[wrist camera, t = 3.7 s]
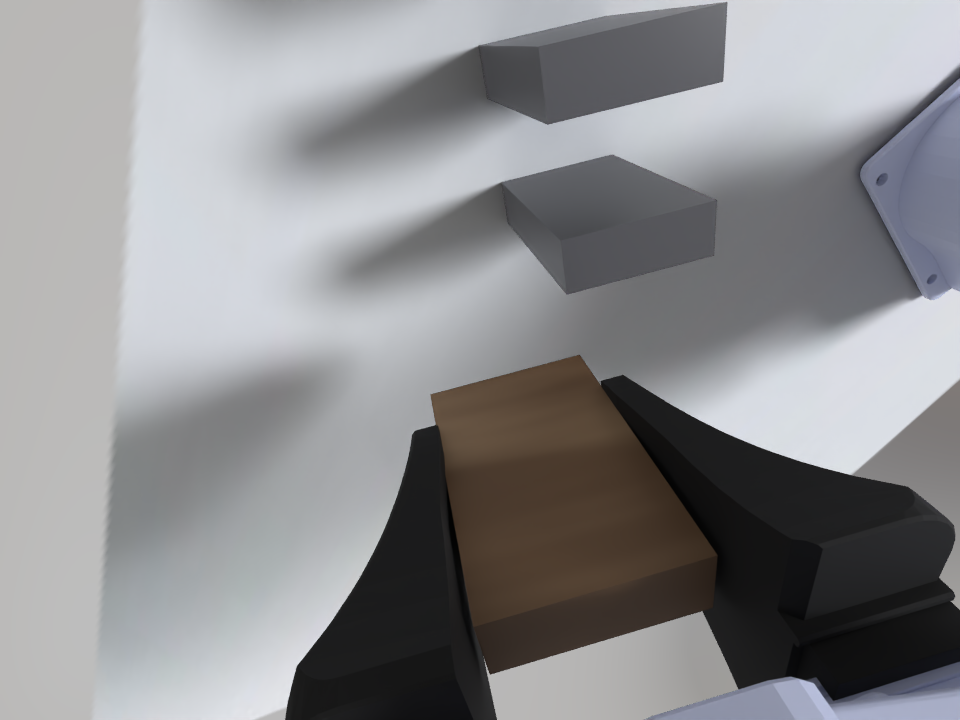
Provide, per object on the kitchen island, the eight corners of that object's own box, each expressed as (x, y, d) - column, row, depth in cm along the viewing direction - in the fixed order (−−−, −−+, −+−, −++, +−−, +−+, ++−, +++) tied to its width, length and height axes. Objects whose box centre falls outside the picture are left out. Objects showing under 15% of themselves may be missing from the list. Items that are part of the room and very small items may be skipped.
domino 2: (614, 196, 21) (713, 255, 15) (508, 223, 21) (566, 294, 15) (612, 154, 20) (716, 200, 14) (501, 182, 20) (560, 240, 14)
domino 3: (584, 398, 16) (712, 608, 10) (443, 436, 16) (489, 674, 10) (579, 354, 15) (718, 555, 9) (430, 394, 15) (473, 627, 9)
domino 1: (608, 69, 18) (723, 81, 13) (487, 98, 18) (547, 124, 12) (605, 16, 18) (727, 1, 12) (478, 45, 17) (538, 46, 11)
